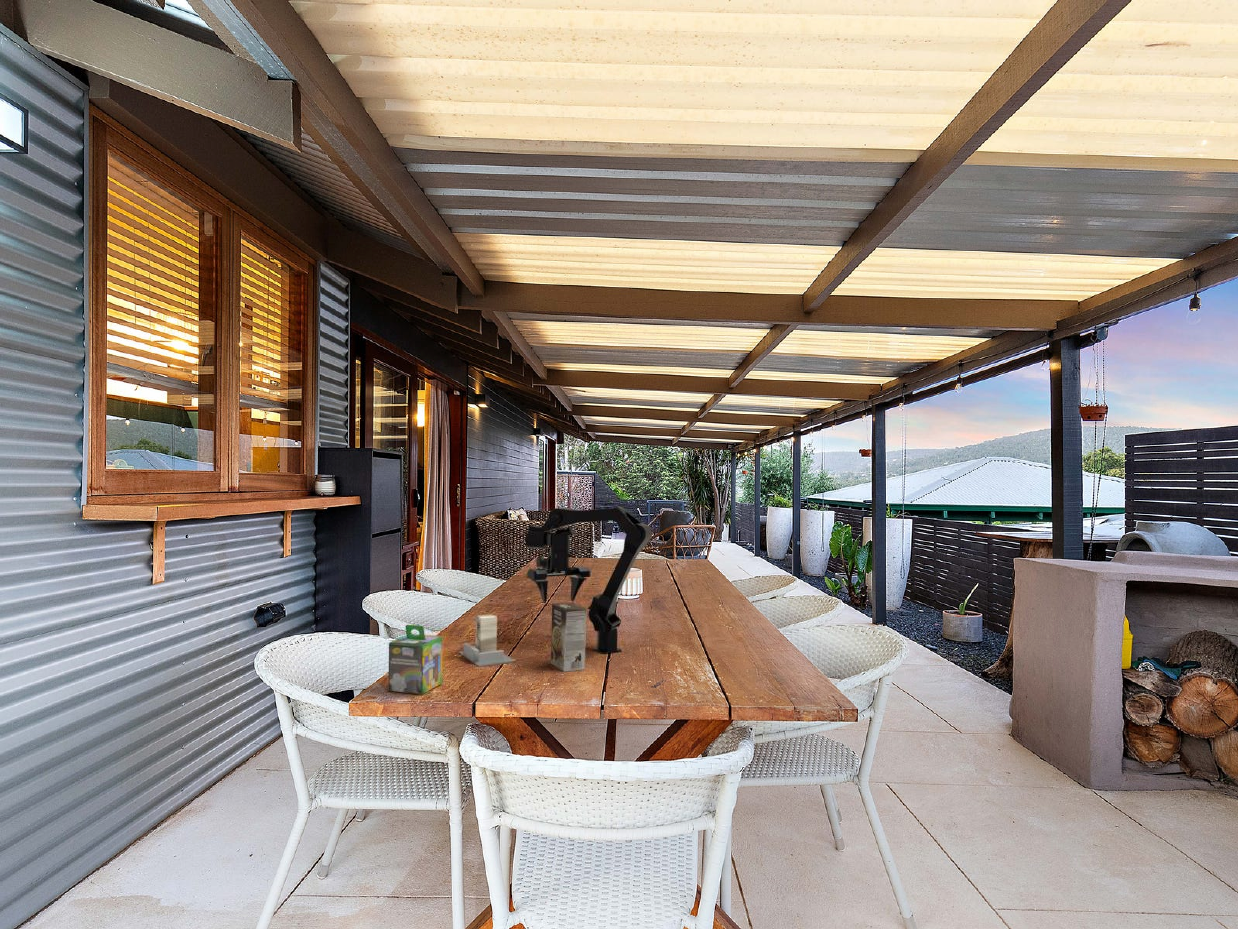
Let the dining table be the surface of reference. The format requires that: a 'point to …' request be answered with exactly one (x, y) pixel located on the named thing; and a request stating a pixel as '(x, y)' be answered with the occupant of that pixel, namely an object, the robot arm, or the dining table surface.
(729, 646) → the dining table surface
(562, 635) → the coffee box
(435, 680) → the chalk box
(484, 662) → the keeper bracket
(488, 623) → the link block
